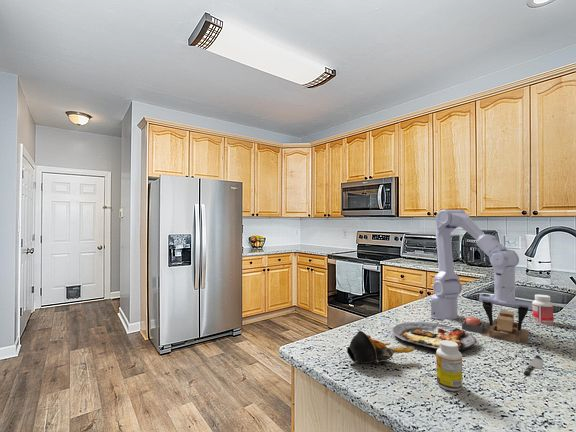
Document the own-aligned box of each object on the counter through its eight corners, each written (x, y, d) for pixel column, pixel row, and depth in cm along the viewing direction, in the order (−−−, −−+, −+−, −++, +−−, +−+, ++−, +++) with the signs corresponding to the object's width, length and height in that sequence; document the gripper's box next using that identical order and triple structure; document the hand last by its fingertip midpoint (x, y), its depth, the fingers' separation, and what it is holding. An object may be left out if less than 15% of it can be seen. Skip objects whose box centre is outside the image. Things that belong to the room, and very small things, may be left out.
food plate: (483, 338, 104) (483, 328, 104) (465, 362, 87) (464, 350, 87) (409, 324, 121) (408, 314, 122) (381, 341, 104) (381, 331, 104)
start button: (464, 327, 111) (464, 319, 111) (467, 324, 114) (467, 316, 114) (479, 330, 108) (479, 321, 108) (481, 326, 112) (481, 318, 112)
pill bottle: (556, 325, 117) (555, 296, 117) (550, 328, 114) (549, 298, 114) (536, 321, 123) (535, 293, 123) (529, 324, 119) (529, 295, 119)
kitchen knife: (550, 358, 91) (537, 354, 93) (550, 354, 91) (537, 351, 93) (537, 381, 78) (522, 376, 80) (537, 376, 78) (522, 371, 80)
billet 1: (499, 329, 110) (499, 312, 110) (500, 326, 113) (500, 310, 113) (513, 332, 108) (513, 314, 108) (514, 329, 111) (514, 312, 111)
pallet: (482, 338, 105) (482, 328, 105) (488, 325, 117) (488, 317, 117) (527, 347, 97) (527, 337, 97) (528, 332, 110) (528, 323, 110)
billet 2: (497, 336, 104) (497, 318, 104) (498, 333, 107) (498, 315, 107) (511, 339, 101) (511, 320, 101) (512, 335, 104) (512, 317, 104)
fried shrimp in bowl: (338, 339, 92) (387, 314, 97) (355, 378, 89) (405, 349, 94) (348, 339, 83) (401, 311, 89) (368, 381, 80) (422, 350, 86)
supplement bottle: (440, 377, 79) (439, 337, 79) (464, 385, 75) (464, 342, 75) (433, 386, 75) (433, 343, 75) (459, 395, 71) (459, 349, 71)
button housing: (462, 331, 111) (461, 323, 111) (465, 327, 116) (465, 319, 116) (481, 335, 107) (481, 327, 107) (484, 330, 112) (484, 322, 112)
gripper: (477, 285, 106) (477, 325, 106) (531, 291, 97) (532, 335, 97) (480, 282, 111) (480, 320, 111) (532, 287, 102) (532, 329, 102)
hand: (504, 327), depth 104 cm, fingers open, 7 cm apart
